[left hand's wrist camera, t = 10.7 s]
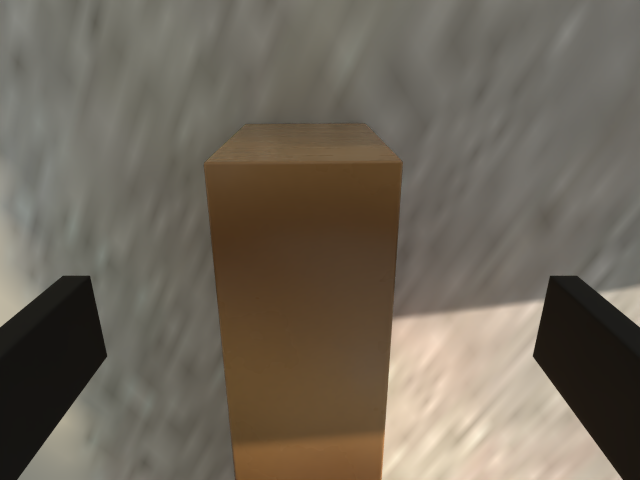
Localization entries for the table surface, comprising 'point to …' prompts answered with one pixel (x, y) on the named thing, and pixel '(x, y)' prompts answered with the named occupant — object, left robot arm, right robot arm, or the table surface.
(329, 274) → the plank
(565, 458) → the table surface
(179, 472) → the table surface
